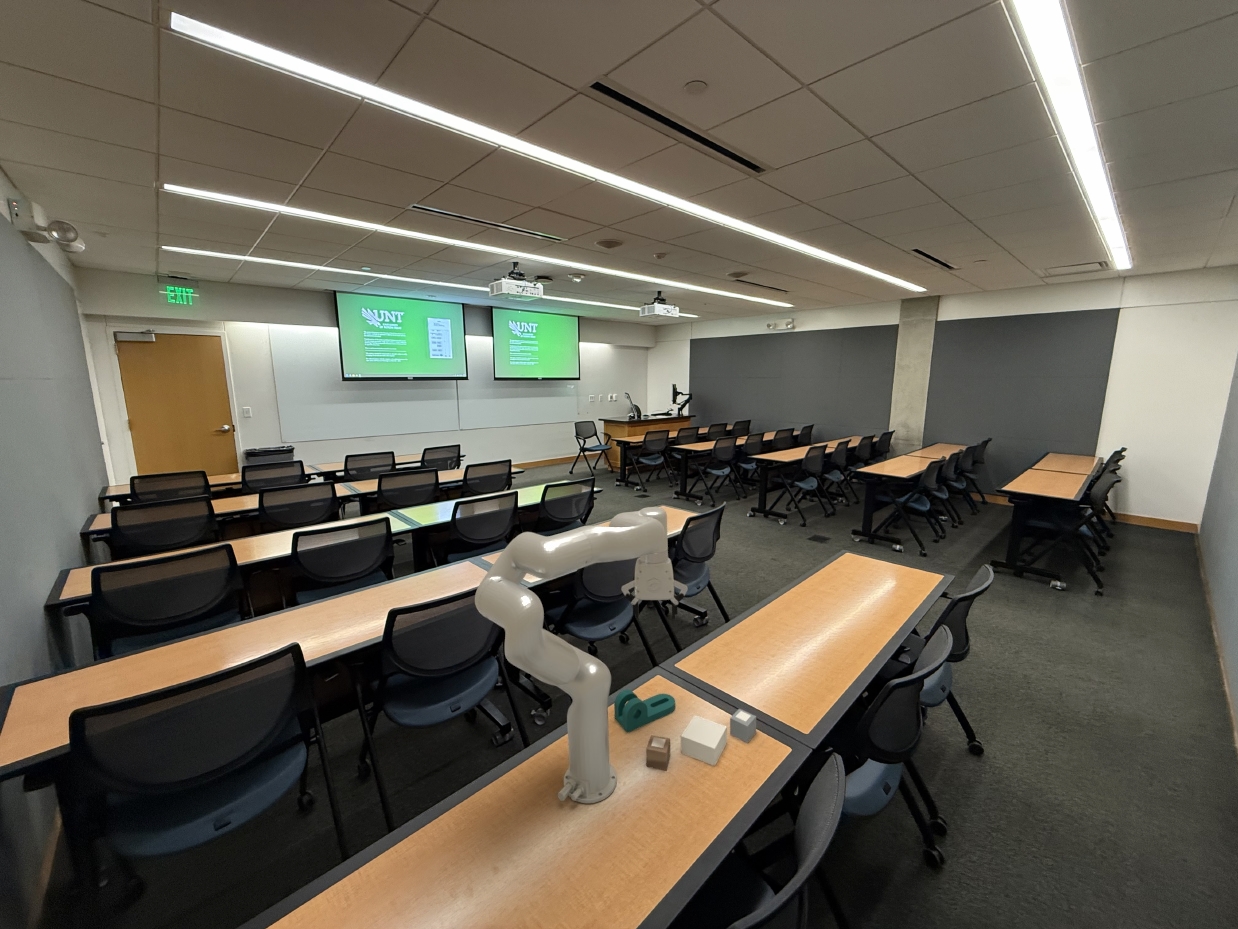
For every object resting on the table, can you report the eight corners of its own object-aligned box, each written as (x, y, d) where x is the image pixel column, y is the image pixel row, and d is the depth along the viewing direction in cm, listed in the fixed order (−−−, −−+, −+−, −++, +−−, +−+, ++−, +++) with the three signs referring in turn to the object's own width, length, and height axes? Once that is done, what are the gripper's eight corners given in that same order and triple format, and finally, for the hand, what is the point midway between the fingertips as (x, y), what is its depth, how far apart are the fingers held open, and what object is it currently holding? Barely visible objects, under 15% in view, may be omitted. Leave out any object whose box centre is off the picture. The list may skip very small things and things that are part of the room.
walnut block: (666, 771, 116) (666, 751, 116) (646, 767, 118) (646, 747, 117) (670, 756, 121) (670, 737, 120) (651, 752, 123) (650, 733, 122)
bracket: (627, 733, 130) (626, 707, 128) (614, 719, 135) (613, 694, 134) (679, 710, 139) (679, 685, 137) (666, 697, 144) (665, 673, 143)
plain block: (714, 767, 117) (714, 748, 117) (681, 753, 122) (680, 735, 121) (726, 743, 125) (726, 726, 124) (694, 732, 130) (694, 715, 129)
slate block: (747, 743, 125) (747, 725, 124) (730, 734, 128) (730, 716, 127) (756, 733, 128) (756, 715, 127) (739, 725, 132) (739, 707, 131)
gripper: (618, 560, 121) (621, 623, 124) (687, 560, 119) (689, 623, 122) (621, 550, 128) (623, 610, 131) (686, 549, 127) (687, 610, 129)
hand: (655, 616), depth 126 cm, fingers open, 9 cm apart
